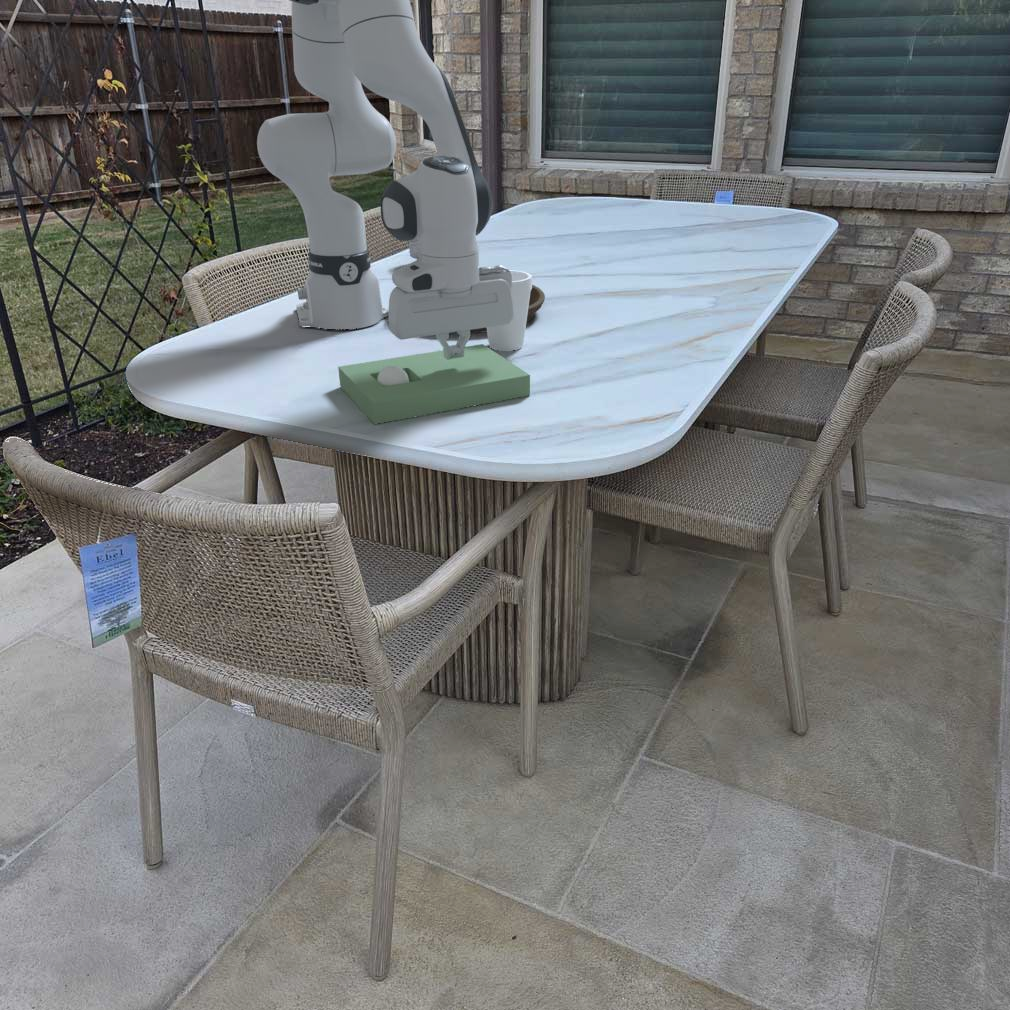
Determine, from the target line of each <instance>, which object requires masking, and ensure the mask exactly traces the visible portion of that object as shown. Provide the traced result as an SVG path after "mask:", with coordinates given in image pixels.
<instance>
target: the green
mask: <svg viewBox="0 0 1010 1010" xmlns="http://www.w3.org/2000/svg"><path fill="white" fill-rule="evenodd" d="M388 366H398V367H400V368H402V369H403V370H404V371H405V372H406V373H407V375H408V378H409V382H407V383H401V384H395V385H389V386H382V385H381V384H380V383H379V382H378V381H377V378H378V375H379V373H380V372H381V370H383V369H384V368H386V367H388ZM337 369H338V377H339V378H338V379H339V386H341V387H340V389H341V390H342V391H345V392H346V393H347V394H348V395H349V396H350V397H349V396H348V395H347V394H346V393H345V392H344V393H345V394H346V395H347V396H348V397H349V398H350V399H351V401H352V402H354V404H355V403H356V404H357V405H358V406H359V407H358V406H357V405H356V404H355V405H356V406H357V407H358V408H359V409H360V408H361V409H360V410H361V411H362V412H363V413H364V415H365V416H366V415H367V416H368V417H369V418H370V419H369V418H368V417H367V418H368V419H369V420H370V421H371V422H372V424H374V425H375V424H376V425H379V424H378V423H381V424H384V423H383V422H387V423H389V422H388V421H392V422H395V421H394V420H397V421H400V420H399V419H403V420H406V419H405V418H408V419H412V418H411V417H413V418H416V417H415V416H419V417H422V416H421V415H424V416H428V415H427V414H430V415H434V414H433V413H435V414H438V413H437V412H440V413H444V412H443V411H446V412H448V411H447V410H451V411H454V410H453V409H456V410H459V409H458V408H462V409H464V408H463V407H467V408H469V407H468V406H472V407H475V406H474V405H478V406H480V405H479V404H483V405H486V404H485V403H489V404H492V403H491V402H494V403H497V402H496V401H499V402H502V401H501V400H505V401H507V400H506V399H510V400H513V399H512V398H515V399H518V398H517V397H521V398H525V397H524V396H526V397H529V396H528V395H530V396H531V375H530V373H528V372H526V371H524V370H523V369H522V368H521V367H519V366H518V365H516V364H514V363H512V362H511V361H509V360H508V359H506V358H505V357H503V356H502V355H500V354H499V353H497V352H495V350H494V351H493V349H491V348H490V347H488V346H486V345H485V344H483V343H481V344H475V345H469V346H468V345H467V346H465V347H464V357H461V358H454V359H448V360H447V359H445V358H444V352H443V349H442V350H438V351H437V350H436V351H429V352H424V353H417V354H410V355H405V356H404V355H403V356H397V357H390V358H385V359H379V360H373V361H365V362H361V363H360V362H358V363H355V364H348V365H341V366H337Z"/></svg>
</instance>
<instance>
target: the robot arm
mask: <svg viewBox="0 0 1010 1010" xmlns="http://www.w3.org/2000/svg"><path fill="white" fill-rule="evenodd" d="M289 2H291V33H292V52H293V53H292V54H293V72H294V75H295V77H296V80H297V82H298V83H299V84H300V86H301V87H302V88H303V89H304V90H306V91H307V92H308V93H310V94H312V95H314V96H316V97H318V98H320V99H322V100H324V101H325V102H328V105H329V106H328V111H324V112H305V113H304V112H303V113H287V114H284V115H279V116H275V117H272V118H267V119H266V120H264V122H262V124H261V126H260V127H259V130H258V134H257V137H256V138H257V139H256V140H257V141H256V145H257V146H256V147H257V153H258V156H259V159H260V161H261V163H262V164H263V166H264V167H265V169H266V170H267V171H269V172H270V174H272V175H273V176H275V177H276V178H278V179H279V180H280V181H282V182H283V183H284V184H285V185H286V186H287V187H288V188H289V189H290V191H291V192H292V193H293V195H295V197H296V199H297V200H298V202H299V204H300V206H301V209H302V211H303V216H304V219H305V225H306V229H307V230H306V231H307V237H308V244H309V252H308V256H307V257H308V258H307V262H308V270H309V273H308V276H307V277H306V280H305V281H304V287H298V288H297V296H298V297H297V298H298V300H305V301H304V302H301V303H298V304H296V312H297V313H298V315H297V318H299V320H298V325H299V324H300V325H299V327H300V326H310V327H320V328H325V329H324V330H327V329H336V330H335V331H345V329H349V330H357V329H362V328H367V327H370V326H374V325H375V324H377V323H379V322H381V320H383V319H385V318H387V317H388V328H389V331H390V332H391V334H392V335H393V336H394V337H395V338H397V339H398V340H407V339H408V340H409V339H415V338H422V337H428V336H434V335H435V338H436V339H437V341H438V342H439V343H440V346H442V348H443V349H442V350H443V352H444V358H445V359H447V360H448V359H454V358H461V357H464V347H466V345H467V343H468V342H469V339H470V338H471V332H470V330H472V329H479V328H485V327H492V326H499V325H506V324H510V322H511V321H512V319H513V317H514V312H513V302H512V295H511V287H512V275H511V272H510V271H509V269H508V268H506V267H504V266H503V265H495V266H483V267H480V259H479V258H480V252H479V251H480V250H479V245H478V241H477V236H479V234H480V233H481V232H483V230H484V229H485V227H486V226H487V225H488V223H489V222H490V219H491V216H492V213H493V211H494V200H493V193H492V191H491V188H490V187H489V184H488V182H487V180H486V179H485V176H484V174H483V172H482V170H481V169H480V167H479V164H478V162H477V159H476V155H475V154H474V153H475V152H474V150H473V147H472V144H471V141H470V138H469V135H468V132H467V129H466V127H465V124H464V120H463V117H462V115H461V112H460V109H459V106H458V103H457V100H456V98H455V95H454V92H453V89H452V87H451V85H450V82H449V80H448V77H447V76H446V74H445V72H444V71H443V69H442V68H441V67H440V66H438V65H437V64H435V62H434V61H433V60H432V59H431V57H430V55H429V54H428V53H427V50H426V49H425V47H424V45H423V42H422V40H421V39H420V36H419V33H418V30H417V26H416V25H417V24H416V23H415V21H416V20H415V17H414V13H413V9H412V5H411V0H289ZM363 86H364V87H365V88H366V89H368V90H369V91H371V92H372V93H375V94H376V95H378V96H380V97H383V98H385V99H387V100H391V101H394V102H396V103H398V104H401V105H403V106H404V107H407V108H409V109H411V110H412V111H414V112H415V113H417V114H418V115H419V116H420V117H421V118H422V119H423V121H424V122H425V124H426V125H427V127H428V129H429V131H430V134H431V138H432V139H433V142H434V145H435V149H436V152H437V154H438V155H435V156H430V157H426V158H424V159H423V160H422V161H420V163H419V165H418V168H417V169H416V170H414V171H413V172H411V173H410V174H408V175H405V176H403V177H400V178H397V179H395V180H391V181H390V182H389V183H388V184H387V185H386V186H385V189H384V191H383V193H382V196H381V198H380V199H381V200H380V215H381V220H382V224H383V227H384V228H385V229H386V232H388V233H389V234H390V235H391V236H392V237H393V238H395V239H396V240H397V241H400V242H408V243H409V242H415V241H420V242H421V244H422V248H421V258H420V259H418V260H417V259H415V260H414V261H412V262H410V263H408V264H406V265H404V266H402V267H399V268H397V269H394V271H393V272H392V273H391V281H392V283H393V284H394V286H395V287H394V288H393V289H392V290H391V292H390V294H389V298H388V299H389V300H388V309H387V308H385V307H383V302H382V296H381V288H380V282H379V281H380V280H379V277H378V275H376V274H375V273H373V272H372V270H371V269H370V268H371V255H370V249H369V248H368V247H367V237H366V224H365V223H366V222H365V213H364V211H363V209H362V207H361V205H360V204H359V203H358V202H357V201H355V200H354V199H352V198H351V197H348V196H346V195H344V194H342V193H339V192H337V191H335V190H334V189H333V188H332V185H331V181H330V178H331V177H337V176H339V177H340V176H352V175H367V174H370V173H374V172H376V171H377V172H378V171H380V170H385V169H387V168H388V167H389V166H390V165H391V163H393V160H394V157H395V155H396V152H397V136H396V133H395V130H394V129H393V126H392V124H391V123H390V121H389V120H388V119H387V118H386V117H385V116H384V115H383V114H382V113H380V112H379V111H378V110H377V109H376V108H375V107H373V105H372V104H371V102H370V101H369V99H368V98H367V95H366V94H365V91H364V89H363ZM504 270H505V271H506V272H503V271H504ZM384 317H385V318H384ZM320 328H319V329H320ZM356 328H357V329H356ZM337 329H338V330H337ZM339 329H341V330H339ZM342 329H344V330H342ZM450 333H457V335H459V336H458V339H457V341H456V344H452V345H450V344H449V343H448V342H447V340H449V339H450Z"/></svg>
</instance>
